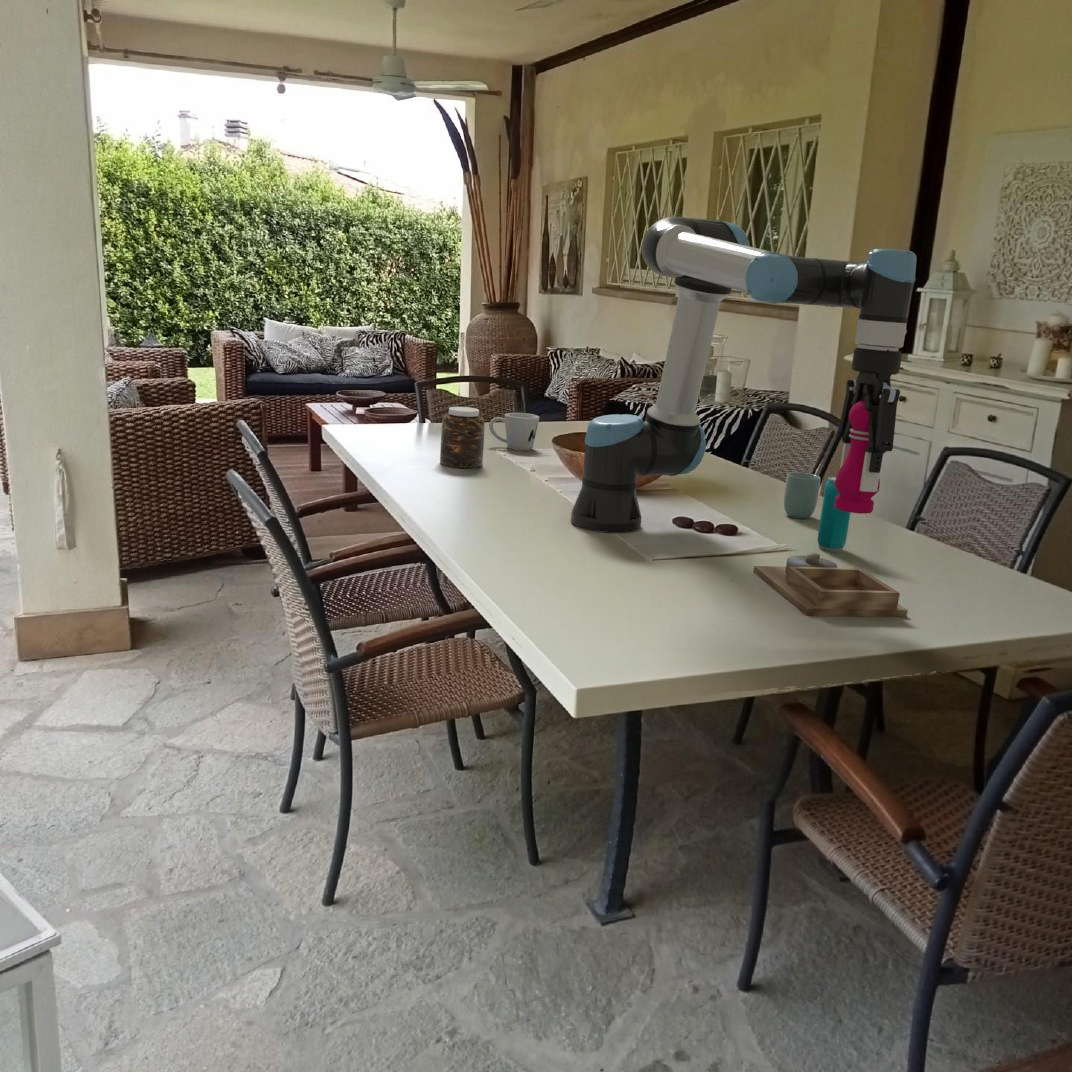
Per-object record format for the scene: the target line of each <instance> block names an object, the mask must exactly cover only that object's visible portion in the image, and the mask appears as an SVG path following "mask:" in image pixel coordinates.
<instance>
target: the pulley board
mask: <svg viewBox="0 0 1072 1072" xmlns="http://www.w3.org/2000/svg"><path fill="white" fill-rule="evenodd" d="M785 564H786V565H785V566H777V565H776V566H773V565H772V566H771V565H754V566H753V573H754V574H755V575H756V576H757V577H759V578H760V579H761V580H762V581H764V582H765V583H766V584H768V585H769V586H770V587H771V588H772V589H773V590H774V591H776V592H777V593H778V594H780V595H781V596H782V597H783V598H784V599H786V601H788V602H789V603H791V605H793V606H794V607H796V609H798V610H799V611H800V612H802V613H803V614H804V615H806V616H817V617H818V616H825V617H828V616H829V617H830V616H831V617H835V616H836V617H882V618H883V617H887V618H888V617H889V618H895V617H896V618H907V616H908V609H906V608H905V607H903V606H902V605H901V604H899V600H900V596H901V595H900V592H899V591H897V590H896V589H894V588H893V587H891V586H889V585H887V584H886V583H885V582H883V581H881V580H880V579H878V578H876V577H875V576H874V575H872V574H871V573H870V572H869V573H868V572H867V571H866V570H864V569H862V568H860V567H838V564H837V563H835V562H834V561H832V560H830V559H826V558H822V557H821V554H820V553H817V552H806V555H791V556H788V557H787V558H786V563H785Z"/></svg>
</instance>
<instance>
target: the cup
mask: <svg viewBox="0 0 1072 1072" xmlns="http://www.w3.org/2000/svg"><path fill="white" fill-rule="evenodd" d="M821 478H822V477H820V476H819V475H818V474H814V473H807V472H801V471H800V472H799V471H798V472H797V471H793V472H792V471H791V472H788V473H786V480H785V485H784V486H785V487H784V495H783V507H784V508H783V509H784V512H785V514H786V515H787V516H789V517H791V518H794V519H795V518H796V519H799V520H800V519H802V520H803V519H809V518H811V517H812V515H813V514H814V513H815V510H816V507H817V504H818V500H819V493H820V486H821Z"/></svg>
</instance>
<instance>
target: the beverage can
mask: <svg viewBox="0 0 1072 1072" xmlns="http://www.w3.org/2000/svg"><path fill="white" fill-rule="evenodd" d="M836 476H837V475H836ZM836 476H835V475H834V476H828V477H827V481H826V483H825V485H824V486H825V487H824V492H823V499H822V504H821V505H822V506H821V513H820V520H819V526H818V532H817V539H816V540H817V544H818V547H819V549H821V550H823V551H826V552H827V551H828V552H831V553H832V552H835V553H837V552H841V551H843V549H844V547H845V545H846V543H847V538H848V536H847V535H848V530H849V526H850V525H849V524H850V518H851V512H845V511H841V510H839V509H836V508H835V506H834V505H835V499H836V497H837V496H839V495H840V494H839V492H838V490H837V489H836V487H835V480H836Z"/></svg>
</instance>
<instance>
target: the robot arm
mask: <svg viewBox="0 0 1072 1072" xmlns="http://www.w3.org/2000/svg"><path fill="white" fill-rule="evenodd" d="M747 236H748V235H747V234H746V232H745V231H744V229H743V228H742V227H741V226H739V225H738V224H736V223H732V222H727V221H723V220H719V219H718V220H717V219H709V218H708V219H706V218H693V217H684V216H667V217H664V218H662V219H659V220H657V221H656V222H655V223H653V224H652V225H651V226H650V227H648V229H647V230H646V232H645V234H644V236H643V238H642V242H641V255H642V258H643V260H644V263H645V264H646V266H647V267H648V268H649V269H650V270H651V272H653V273H655V274H657V275H659V276H662V277H666V278H673V279H674V282H673V285H674V287H675V288H676V290H677V291H678V299H677V303H676V308H675V313H674V317H673V321H672V322H673V323H672V326H671V332H670V336H669V341H668V345H667V351H666V356H665V361H664V363H663V369H662V374H661V378H660V382H659V383H660V384H659V387H658V392H657V397H656V402H655V404H653V405H651V406H650V407H649V408H647V411H646V415H645V420H644V421H643V418H642V417H641V416H639V415H634V414H628V413H625V414H618V413H616V414H606V415H602V416H597V417H595V418H593V419H592V420H591V421H589V423H588V424H587V427H586V434H585V438H584V443H585V444H584V445H585V446H584V459H583V469H582V470H583V471H582V481H581V489H580V490H579V493H578V495H577V497H576V499H575V503H574V505H573V508H571V509H572V510H571V513H570V515H571V517H570V523H571V524H573V525H574V526H577V527H579V528H581V529H584V530H590V531H595V532H601V533H616V534H617V533H619V534H620V533H631V532H636V531H638V530H640V529H641V527H642V526H641V525H642V515H641V509H640V505H639V499H638V496H637V495H638V494H637V483H638V477H646V476H647V477H649V476H650V477H651V476H653V477H654V476H669V477H675V476H678V475H679V476H680V475H687V474H689V473H691V472H692V471H694V470H696V469H697V467H699V465H700V464H701V462H702V460H703V458H704V455H705V453H706V449H707V440H706V439H705V437H706V433H705V430H704V428H703V427H702V425H701V418H700V417H699V416H698V414H697V413H696V411H697V406H698V401H699V397H700V392H701V387H702V385H703V384H702V383H703V380H704V375H705V371H706V368H707V362H708V358H709V353H710V350H711V349H710V348H711V344H712V341H713V338H714V337H713V336H714V331H715V328H716V324H717V320H718V315H719V310H720V306H721V302H722V301H724V299H726V298H728V297H729V296H731V292H732V289H733V290H734V291H735V290H736V291H740V292H743V293H747V294H749V295H750V297H751V298H752V299H753V300H755V301H758V302H763V303H768V304H795V305H796V304H797V305H804V306H805V305H806V306H807V305H808V306H820V307H821V306H822V307H830V308H846V309H847V308H850V309H851V308H853V309H859V315H858V320H857V327H856V332H855V339H854V344H856V345H857V347H856V348H854V349H853V354H852V362H851V369H852V370H853V371H854V372H858V375H857V377H856V379H847V381H846V391H845V398H844V402H843V407H842V411H841V415H840V416H841V417H840V420H839V421H840V422H839V425H838V431H837V436H838V438H839V437H841V442H842V443H843V445H842V446H843V447H842V452H841V459H840V466H839V469H840V468H841V467H842V465H843V463H844V462H845V460H846V458H847V456H848V454H849V450H850V446H851V438H850V437H849V434H850V429H851V428H853V427H852V424H851V423H850V421H849V412H850V410H851V408H852V406H853V405H854V404H856V403H857V402H860V401H865V409H866V410H867V411H869V422H868V427H869V448H867V449H865V458H864V465H863V471H862V478H861V484H860V491H865V492H877V488H878V482H879V478H880V474H881V468H882V463H883V462H882V461H883V458H884V457H883V456H884V454H886V453H887V452H892V451H893V450H894V449H893V448H894V439H895V429H896V421H897V420H896V417H897V408H898V402H899V399H900V396H901V391H900V389H897V388H892V386H891V385H892V384H891V376H893V375H898V374H899V373H900V371H901V365H902V358H903V353H902V351H899V349H901V348H903V347H904V344H905V343H904V342H905V337H906V334H907V333H908V331H907V323H908V319H909V318H908V317H909V313H910V307H911V301H912V295H913V290H914V286H915V282H916V272H917V270H916V269H917V254H915V253H914V252H913V251H911V250H905V249H895V248H893V249H892V248H891V249H889V248H872V249H871V250H870V251H869V252H868V255H867V259H866V261H855V260H854V261H850V260H848V261H847V260H840V259H839V260H837V259H825V258H818V257H817V258H816V257H815V258H813V257H803V256H797V255H788V254H784V253H780V252H775V251H770V250H766V249H761V248H757V247H753V246H751V245H750V241H749V239H748V237H747ZM877 493H878V492H877Z"/></svg>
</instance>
